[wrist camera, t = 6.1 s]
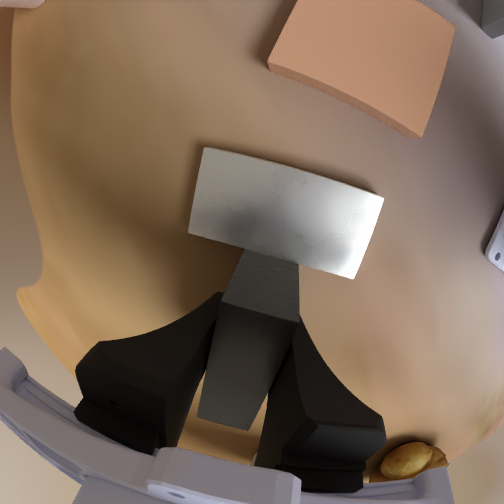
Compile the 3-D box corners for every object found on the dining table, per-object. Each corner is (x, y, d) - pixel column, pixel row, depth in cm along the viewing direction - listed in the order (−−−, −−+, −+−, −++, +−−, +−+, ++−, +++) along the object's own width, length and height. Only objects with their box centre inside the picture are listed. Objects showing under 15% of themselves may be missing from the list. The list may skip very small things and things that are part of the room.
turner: (304, 366, 16) (302, 440, 11) (180, 332, 16) (143, 397, 11) (377, 194, 12) (430, 228, 6) (210, 146, 12) (154, 149, 7)
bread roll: (371, 443, 19) (378, 513, 12) (458, 417, 17) (478, 478, 10) (361, 482, 23) (362, 530, 16) (428, 464, 21) (437, 510, 14)
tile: (438, 37, 8) (455, 26, 6) (404, 137, 11) (421, 137, 9) (319, -23, 8) (321, -42, 6) (270, 73, 11) (267, 61, 9)
